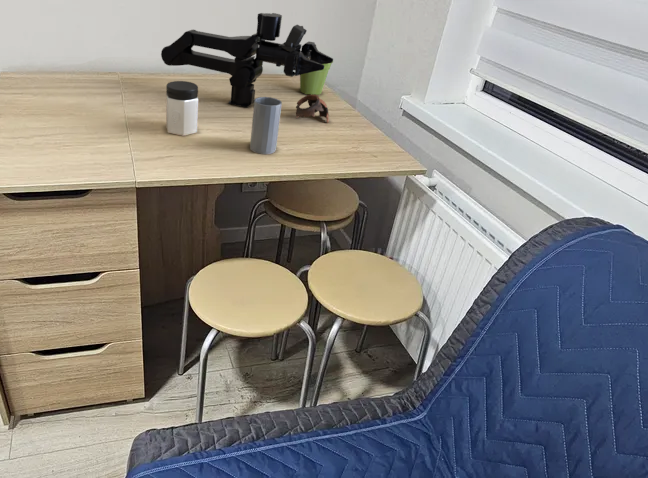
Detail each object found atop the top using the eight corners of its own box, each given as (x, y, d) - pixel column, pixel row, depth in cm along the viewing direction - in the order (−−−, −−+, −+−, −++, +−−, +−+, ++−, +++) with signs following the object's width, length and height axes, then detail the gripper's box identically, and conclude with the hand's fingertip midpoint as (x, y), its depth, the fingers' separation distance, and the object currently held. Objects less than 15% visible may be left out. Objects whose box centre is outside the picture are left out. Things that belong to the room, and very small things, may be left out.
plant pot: (333, 92, 180) (339, 59, 174) (318, 100, 171) (324, 65, 165) (302, 84, 185) (307, 52, 179) (287, 92, 176) (291, 58, 170)
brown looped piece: (331, 128, 152) (323, 105, 146) (300, 137, 155) (291, 115, 150) (330, 105, 160) (322, 82, 154) (301, 114, 163) (292, 92, 158)
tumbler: (245, 150, 132) (250, 102, 125) (255, 141, 137) (260, 95, 131) (270, 156, 130) (276, 107, 123) (279, 147, 135) (285, 100, 129)
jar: (159, 131, 138) (159, 86, 131) (172, 122, 145) (172, 78, 138) (191, 138, 136) (192, 92, 130) (202, 127, 143) (204, 84, 136)
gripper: (268, 29, 139) (324, 39, 134) (291, 19, 153) (342, 28, 149) (263, 71, 145) (317, 82, 140) (286, 58, 160) (335, 68, 155)
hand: (328, 64), depth 146 cm, fingers open, 9 cm apart
